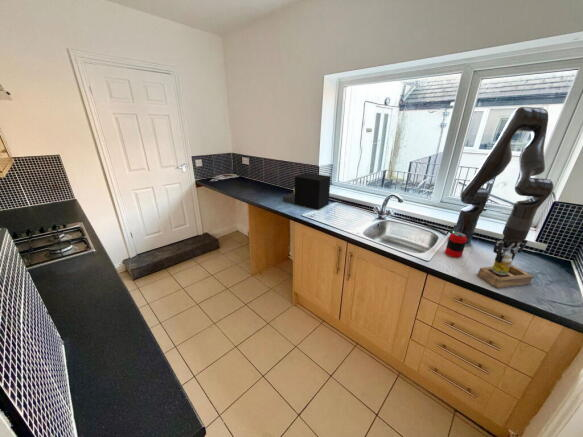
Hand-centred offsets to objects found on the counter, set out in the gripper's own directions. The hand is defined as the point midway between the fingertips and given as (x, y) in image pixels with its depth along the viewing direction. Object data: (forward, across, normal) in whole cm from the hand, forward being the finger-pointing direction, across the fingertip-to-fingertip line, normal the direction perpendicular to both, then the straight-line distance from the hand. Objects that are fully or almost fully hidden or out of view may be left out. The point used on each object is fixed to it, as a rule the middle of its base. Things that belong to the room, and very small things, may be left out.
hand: (503, 261), depth 106 cm
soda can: (+10, +2, -23) cm, 25 cm away
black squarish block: (+10, +60, -118) cm, 133 cm away
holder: (+10, -4, 0) cm, 11 cm away
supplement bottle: (+6, 0, 0) cm, 6 cm away
